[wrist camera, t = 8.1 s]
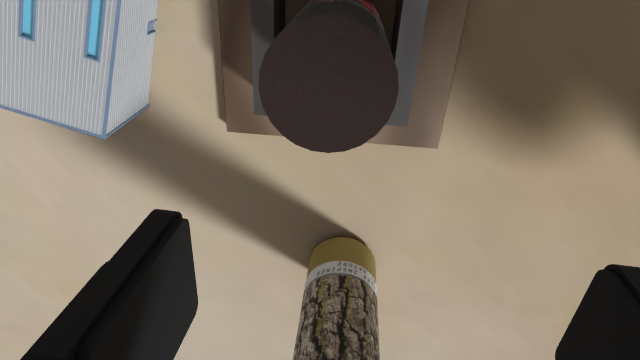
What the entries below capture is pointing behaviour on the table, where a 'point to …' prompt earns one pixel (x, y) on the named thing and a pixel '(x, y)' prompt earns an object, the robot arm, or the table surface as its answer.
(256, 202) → the table surface
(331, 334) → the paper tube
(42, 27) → the warehouse
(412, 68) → the holder
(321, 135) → the deodorant
